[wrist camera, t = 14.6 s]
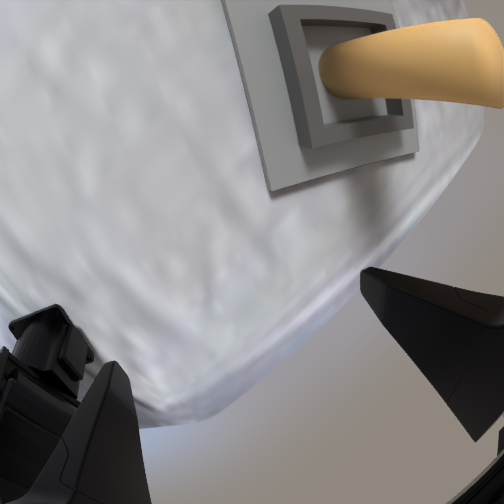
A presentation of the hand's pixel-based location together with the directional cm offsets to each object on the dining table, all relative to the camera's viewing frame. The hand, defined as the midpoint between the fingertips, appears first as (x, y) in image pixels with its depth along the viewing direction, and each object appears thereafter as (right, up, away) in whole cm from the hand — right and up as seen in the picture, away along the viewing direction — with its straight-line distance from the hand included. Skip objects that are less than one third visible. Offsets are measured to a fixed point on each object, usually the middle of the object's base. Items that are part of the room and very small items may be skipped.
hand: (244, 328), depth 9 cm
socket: (+7, +17, +10) cm, 21 cm away
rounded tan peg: (+7, +16, +9) cm, 20 cm away
